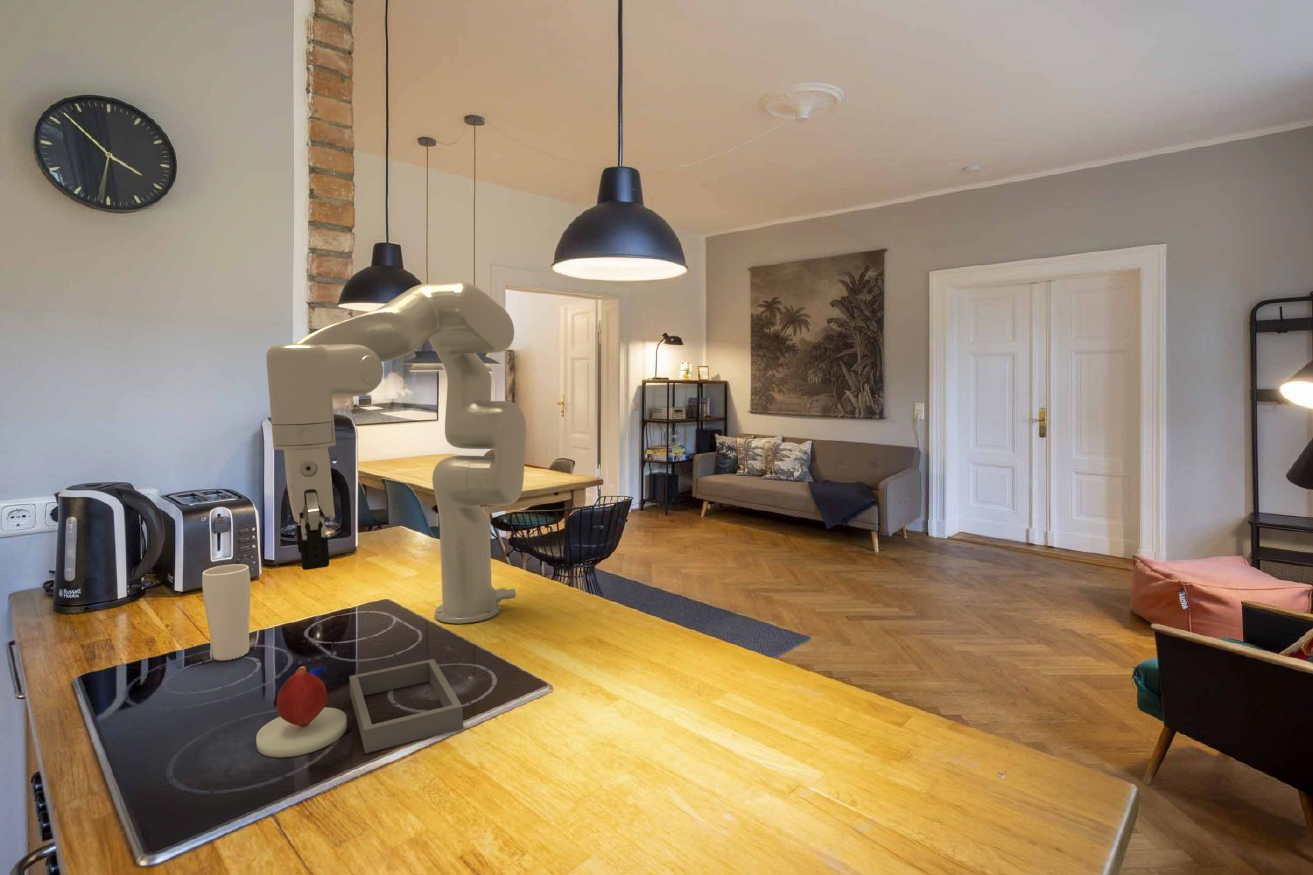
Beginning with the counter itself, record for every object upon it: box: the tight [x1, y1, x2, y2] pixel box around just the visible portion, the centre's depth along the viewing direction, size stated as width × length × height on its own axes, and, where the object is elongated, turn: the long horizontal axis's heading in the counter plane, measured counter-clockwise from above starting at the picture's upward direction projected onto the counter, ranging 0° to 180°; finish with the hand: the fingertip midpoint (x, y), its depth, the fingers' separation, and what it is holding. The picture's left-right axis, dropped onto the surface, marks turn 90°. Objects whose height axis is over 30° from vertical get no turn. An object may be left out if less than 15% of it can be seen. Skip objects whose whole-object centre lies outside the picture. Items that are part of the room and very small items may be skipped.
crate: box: [348, 658, 464, 754], centre depth 93 cm, size 12×18×3 cm, turn 30°
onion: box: [276, 666, 328, 727], centre depth 87 cm, size 6×6×8 cm
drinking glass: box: [201, 563, 252, 662], centre depth 113 cm, size 7×7×15 cm
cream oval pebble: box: [255, 706, 348, 758], centre depth 87 cm, size 10×10×1 cm
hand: (313, 559), depth 92 cm, fingers open, 9 cm apart
